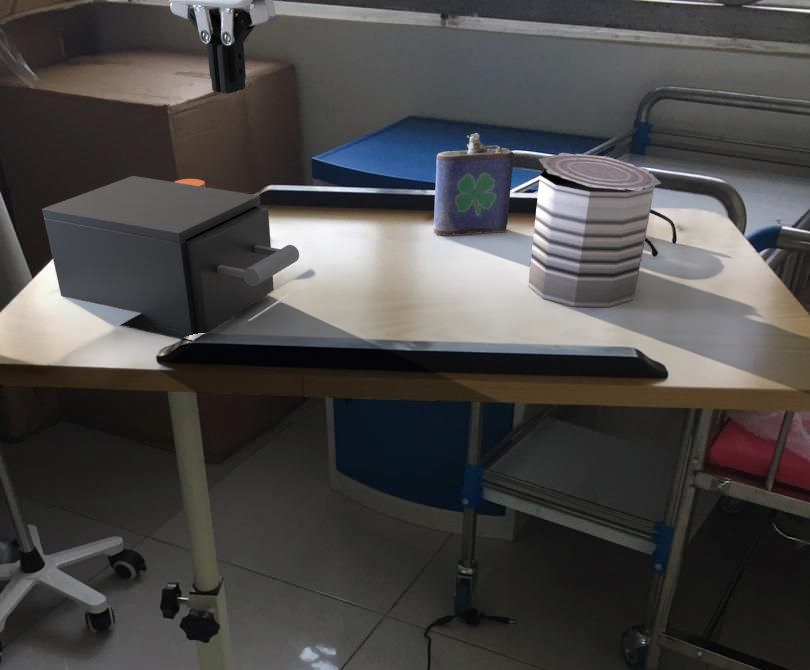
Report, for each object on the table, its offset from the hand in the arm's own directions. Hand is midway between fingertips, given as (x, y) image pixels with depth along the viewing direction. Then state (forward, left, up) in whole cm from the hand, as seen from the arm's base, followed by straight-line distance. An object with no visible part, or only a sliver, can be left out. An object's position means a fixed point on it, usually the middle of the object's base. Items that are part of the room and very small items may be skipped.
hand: (229, 90), depth 84 cm
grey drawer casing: (-12, +1, -17) cm, 21 cm away
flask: (+23, -17, -17) cm, 33 cm away
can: (+11, -34, -17) cm, 40 cm away
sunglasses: (+28, -34, -17) cm, 47 cm away
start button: (+8, +12, -13) cm, 20 cm away
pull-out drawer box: (-12, -3, -16) cm, 20 cm away
